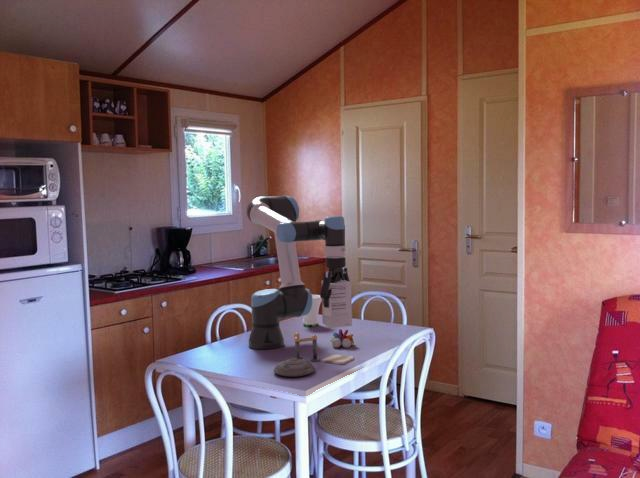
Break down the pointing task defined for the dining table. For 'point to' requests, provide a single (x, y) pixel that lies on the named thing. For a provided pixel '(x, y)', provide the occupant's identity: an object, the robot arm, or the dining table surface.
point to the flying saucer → (294, 368)
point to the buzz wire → (297, 340)
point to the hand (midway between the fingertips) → (336, 312)
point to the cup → (313, 312)
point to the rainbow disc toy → (342, 339)
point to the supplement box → (339, 305)
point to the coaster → (338, 359)
